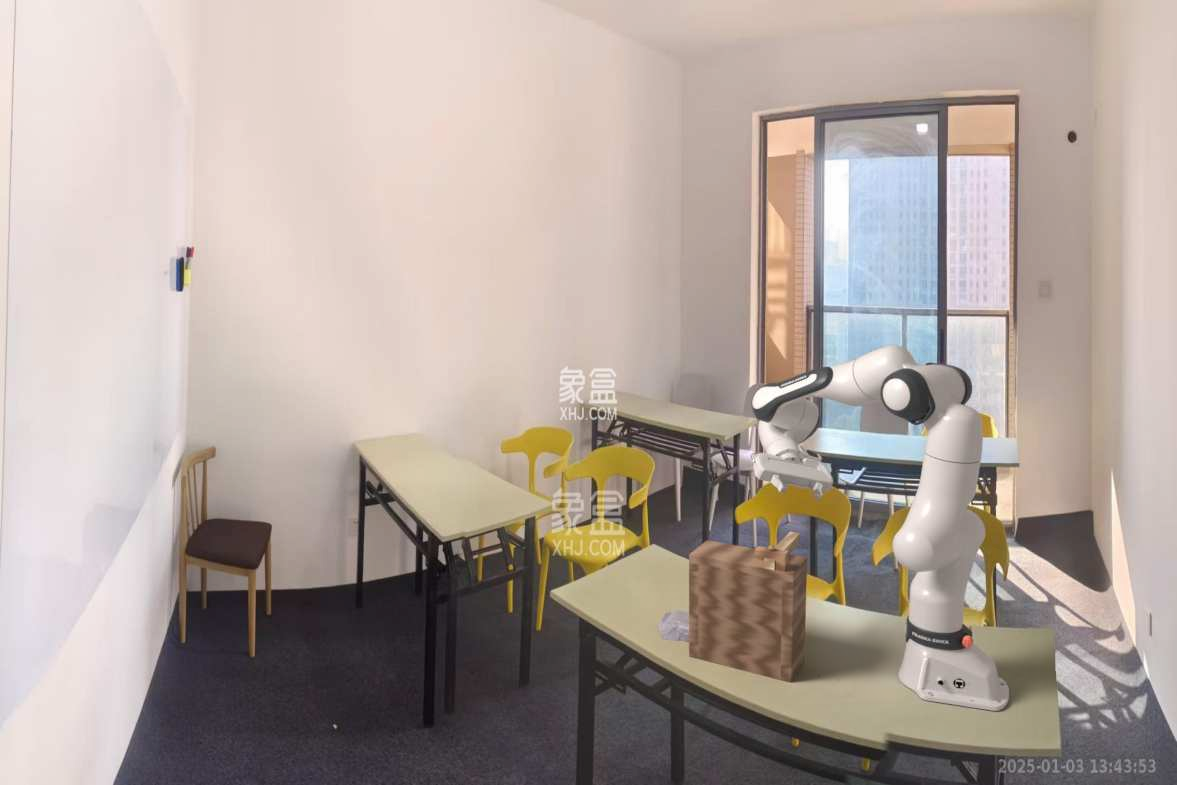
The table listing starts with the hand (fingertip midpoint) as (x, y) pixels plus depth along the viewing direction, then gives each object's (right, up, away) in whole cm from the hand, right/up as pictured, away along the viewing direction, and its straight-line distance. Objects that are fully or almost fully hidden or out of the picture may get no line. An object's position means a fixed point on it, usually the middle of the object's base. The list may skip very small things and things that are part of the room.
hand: (801, 493), depth 190 cm
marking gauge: (-6, -14, -6) cm, 16 cm away
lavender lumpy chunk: (-28, -38, +13) cm, 49 cm away
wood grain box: (-14, -40, -2) cm, 42 cm away
